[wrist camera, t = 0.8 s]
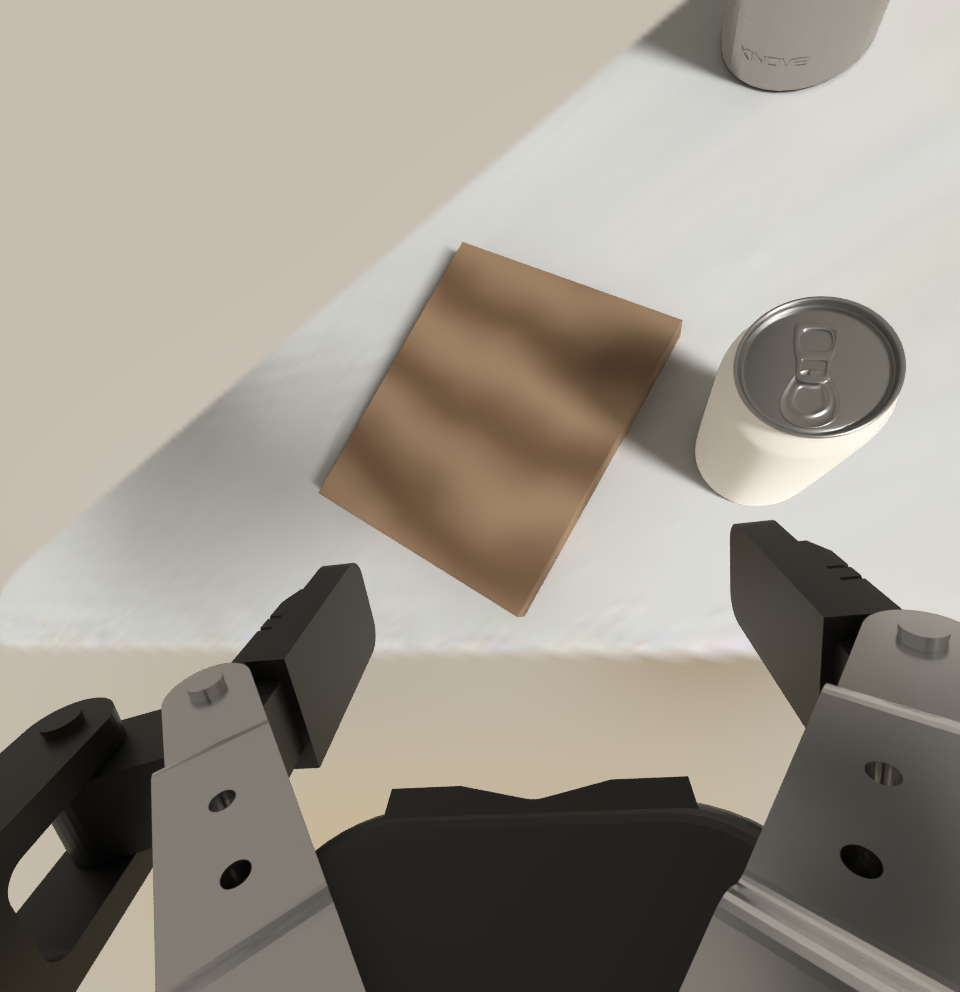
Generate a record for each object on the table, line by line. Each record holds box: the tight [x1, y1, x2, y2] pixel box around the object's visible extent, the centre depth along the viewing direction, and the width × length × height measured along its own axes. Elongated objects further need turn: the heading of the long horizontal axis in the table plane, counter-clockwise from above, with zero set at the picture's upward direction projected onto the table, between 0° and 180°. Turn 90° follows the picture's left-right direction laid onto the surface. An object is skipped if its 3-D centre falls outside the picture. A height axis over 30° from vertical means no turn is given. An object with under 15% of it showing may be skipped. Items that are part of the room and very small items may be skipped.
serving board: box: [319, 242, 682, 617], centre depth 35 cm, size 20×16×2 cm
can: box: [695, 296, 906, 506], centre depth 26 cm, size 6×6×12 cm
